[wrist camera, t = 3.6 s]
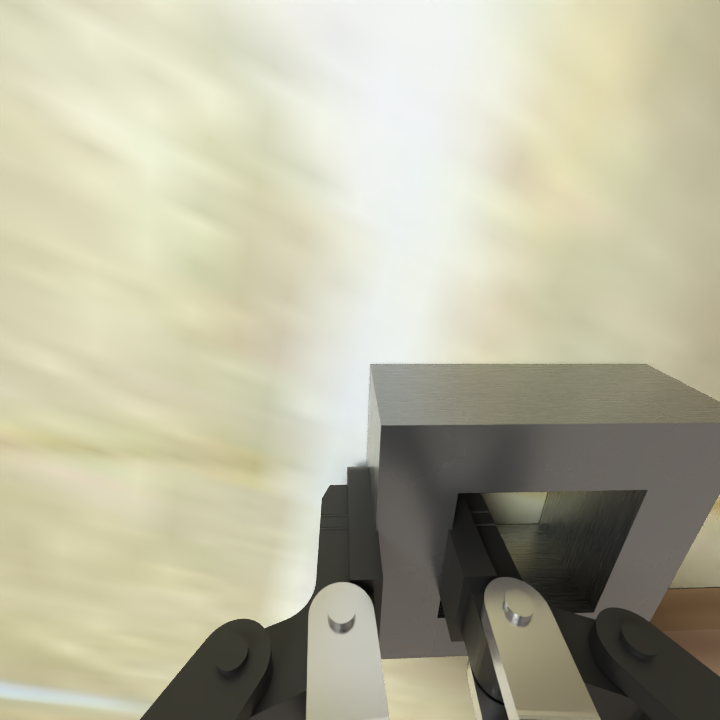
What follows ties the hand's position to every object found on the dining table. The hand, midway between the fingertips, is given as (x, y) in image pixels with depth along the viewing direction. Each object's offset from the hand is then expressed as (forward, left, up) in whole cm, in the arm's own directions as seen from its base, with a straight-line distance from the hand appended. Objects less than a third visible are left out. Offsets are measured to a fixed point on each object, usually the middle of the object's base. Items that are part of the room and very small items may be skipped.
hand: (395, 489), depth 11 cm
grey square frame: (0, +3, -1) cm, 3 cm away
